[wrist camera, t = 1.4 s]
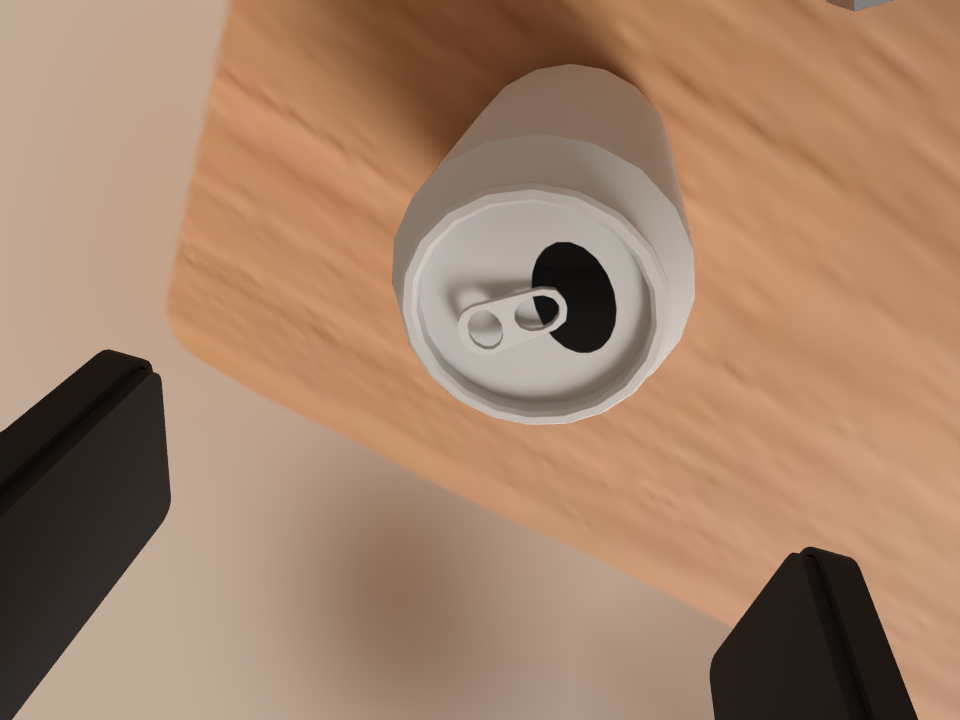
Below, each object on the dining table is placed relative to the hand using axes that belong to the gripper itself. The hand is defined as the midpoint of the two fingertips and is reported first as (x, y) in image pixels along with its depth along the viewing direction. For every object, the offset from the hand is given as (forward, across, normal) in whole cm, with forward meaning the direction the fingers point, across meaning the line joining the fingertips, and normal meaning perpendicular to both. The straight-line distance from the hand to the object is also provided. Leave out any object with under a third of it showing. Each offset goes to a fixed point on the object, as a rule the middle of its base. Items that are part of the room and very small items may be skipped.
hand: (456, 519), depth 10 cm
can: (+18, -1, 0) cm, 18 cm away
